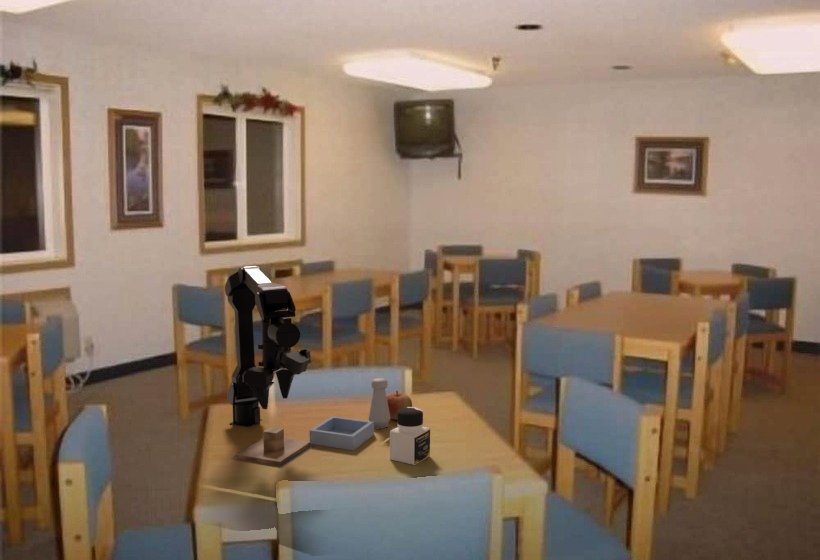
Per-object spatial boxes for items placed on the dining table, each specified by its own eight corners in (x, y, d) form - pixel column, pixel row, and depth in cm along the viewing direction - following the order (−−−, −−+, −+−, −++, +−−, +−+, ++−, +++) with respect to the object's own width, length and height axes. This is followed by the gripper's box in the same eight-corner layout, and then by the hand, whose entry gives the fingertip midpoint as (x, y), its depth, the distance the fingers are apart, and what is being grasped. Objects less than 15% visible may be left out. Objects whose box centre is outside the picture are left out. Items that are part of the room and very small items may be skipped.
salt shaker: (387, 430, 202) (387, 382, 200) (366, 429, 203) (366, 381, 201) (392, 423, 207) (392, 376, 205) (371, 422, 208) (371, 375, 207)
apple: (395, 425, 206) (395, 396, 205) (377, 417, 212) (377, 389, 211) (418, 419, 211) (418, 391, 210) (400, 412, 217) (400, 384, 216)
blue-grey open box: (309, 445, 190) (309, 430, 190) (332, 430, 201) (332, 416, 201) (353, 452, 186) (353, 436, 185) (373, 436, 197) (373, 421, 196)
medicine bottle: (414, 465, 178) (415, 415, 176) (389, 459, 181) (389, 410, 180) (430, 456, 184) (430, 407, 182) (405, 450, 187) (405, 403, 186)
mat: (231, 461, 180) (231, 458, 180) (266, 440, 194) (266, 438, 194) (282, 469, 175) (282, 467, 175) (314, 448, 189) (314, 445, 189)
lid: (235, 458, 180) (235, 435, 179) (268, 439, 193) (267, 418, 192) (280, 465, 176) (279, 442, 175) (310, 445, 188) (310, 424, 188)
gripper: (283, 351, 169) (284, 419, 171) (322, 334, 186) (323, 396, 189) (240, 346, 173) (242, 413, 175) (282, 330, 190) (283, 391, 193)
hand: (275, 403), depth 183 cm, fingers open, 9 cm apart
